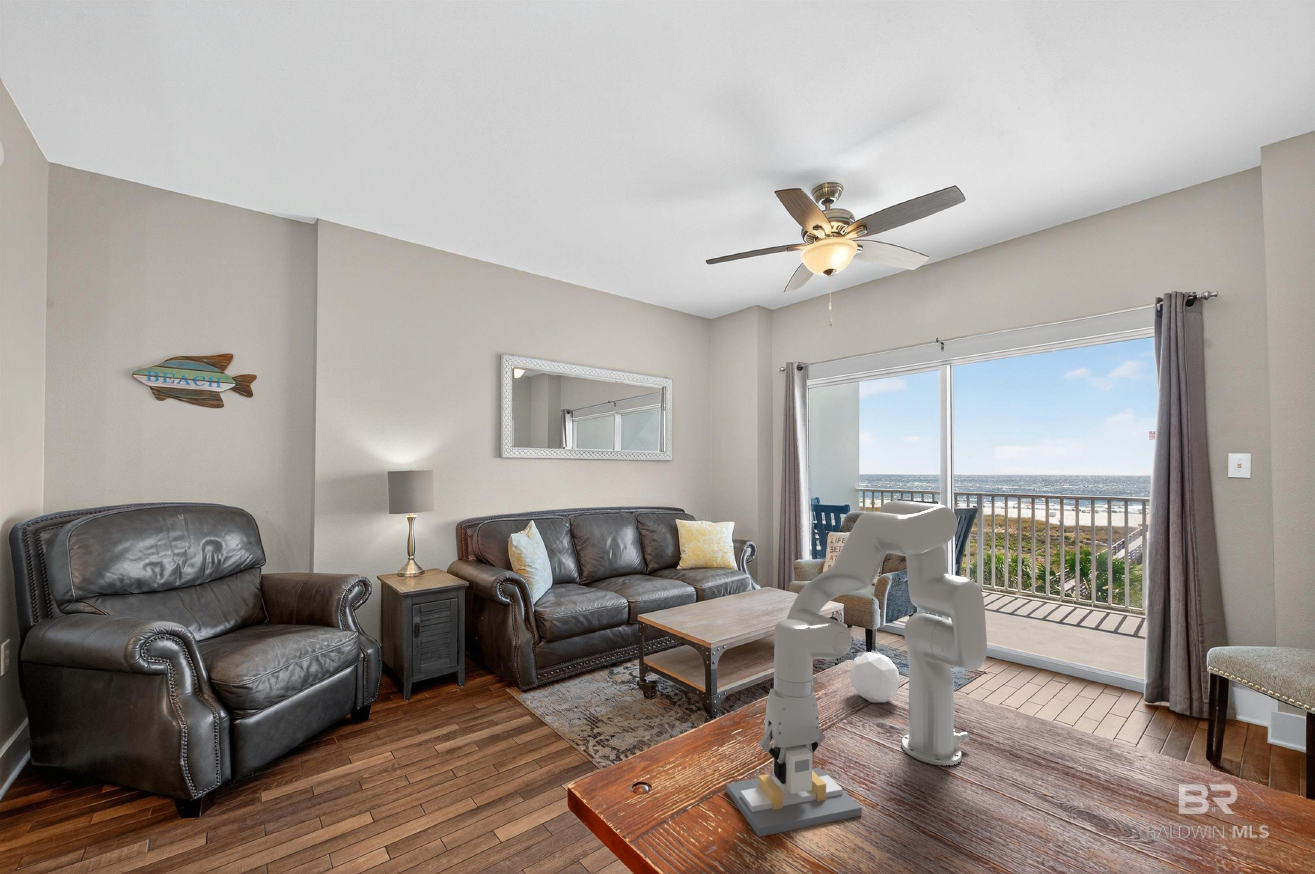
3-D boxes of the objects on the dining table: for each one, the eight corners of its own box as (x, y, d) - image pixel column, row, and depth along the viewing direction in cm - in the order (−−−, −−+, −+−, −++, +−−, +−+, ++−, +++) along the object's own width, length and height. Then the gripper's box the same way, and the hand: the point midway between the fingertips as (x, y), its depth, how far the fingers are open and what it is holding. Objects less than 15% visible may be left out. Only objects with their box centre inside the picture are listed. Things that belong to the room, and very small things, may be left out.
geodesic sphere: (840, 685, 151) (872, 648, 150) (833, 667, 164) (862, 632, 163) (884, 721, 149) (916, 684, 148) (872, 699, 162) (902, 665, 161)
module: (792, 770, 112) (793, 735, 113) (812, 790, 105) (812, 753, 106) (772, 773, 111) (773, 738, 111) (791, 794, 104) (792, 757, 104)
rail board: (819, 774, 118) (819, 753, 118) (861, 815, 105) (861, 791, 105) (726, 791, 111) (726, 768, 112) (758, 836, 98) (759, 811, 98)
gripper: (818, 673, 115) (817, 761, 114) (746, 681, 110) (744, 773, 109) (840, 687, 108) (840, 782, 107) (764, 697, 103) (763, 796, 102)
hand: (792, 776), depth 108 cm, fingers closed on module, 4 cm apart
